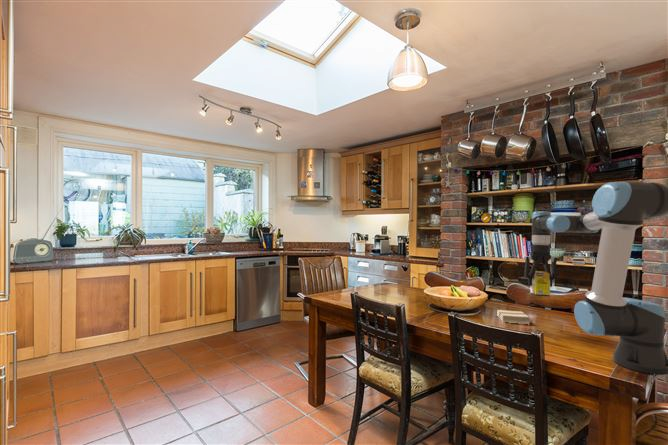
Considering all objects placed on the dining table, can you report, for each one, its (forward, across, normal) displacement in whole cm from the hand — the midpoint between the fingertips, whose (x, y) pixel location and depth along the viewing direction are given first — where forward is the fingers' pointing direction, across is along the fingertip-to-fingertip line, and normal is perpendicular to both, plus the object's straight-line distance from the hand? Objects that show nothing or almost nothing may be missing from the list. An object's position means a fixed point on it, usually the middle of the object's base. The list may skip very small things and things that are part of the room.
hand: (540, 293), depth 161 cm
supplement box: (+1, 0, 0) cm, 1 cm away
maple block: (+17, +8, -13) cm, 23 cm away
